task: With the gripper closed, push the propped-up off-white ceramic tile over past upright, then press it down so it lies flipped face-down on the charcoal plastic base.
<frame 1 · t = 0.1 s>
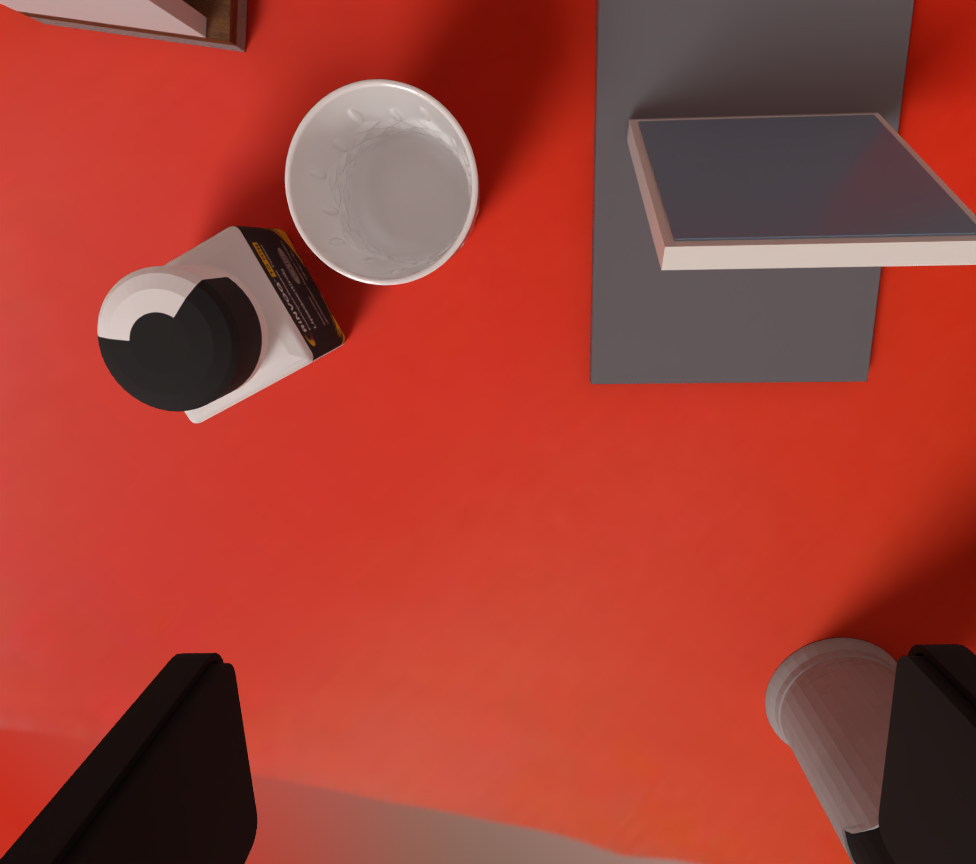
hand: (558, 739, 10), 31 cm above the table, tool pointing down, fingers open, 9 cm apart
glass holder: (854, 726, 45), on the table
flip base: (739, 132, 36), on the table
white cup: (417, 200, 38), on the table
tile: (781, 178, 30), point 7 cm above the table, hinge at 60.0°
medicine bottle: (266, 314, 40), on the table
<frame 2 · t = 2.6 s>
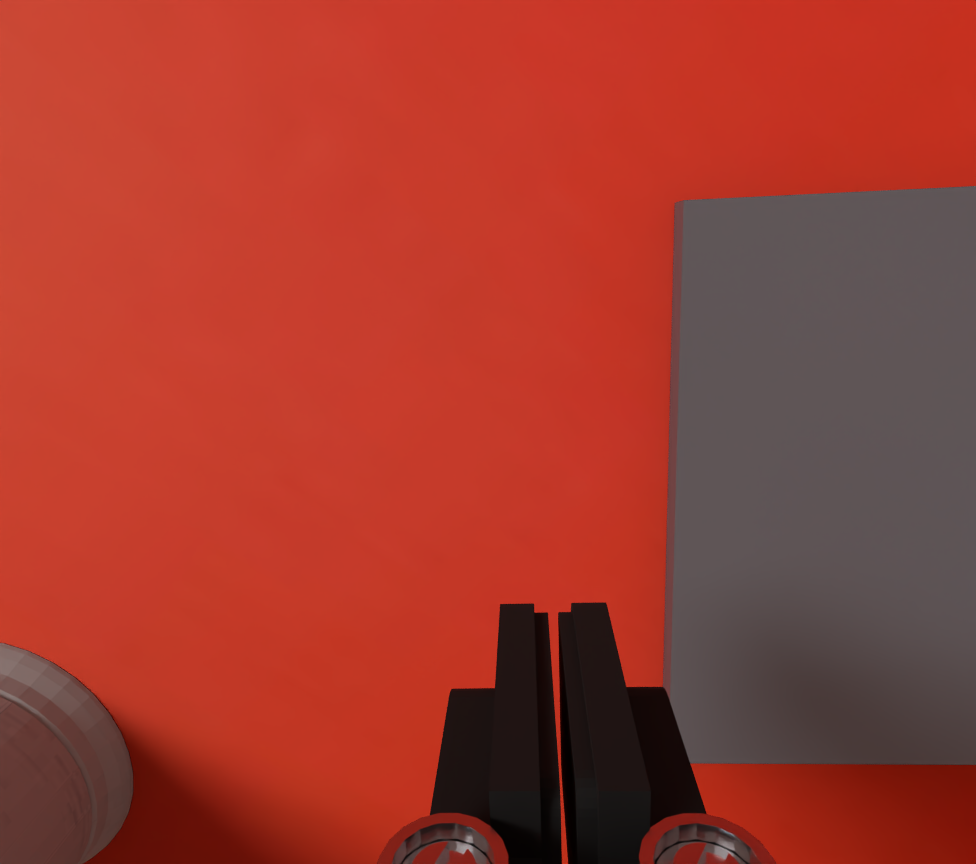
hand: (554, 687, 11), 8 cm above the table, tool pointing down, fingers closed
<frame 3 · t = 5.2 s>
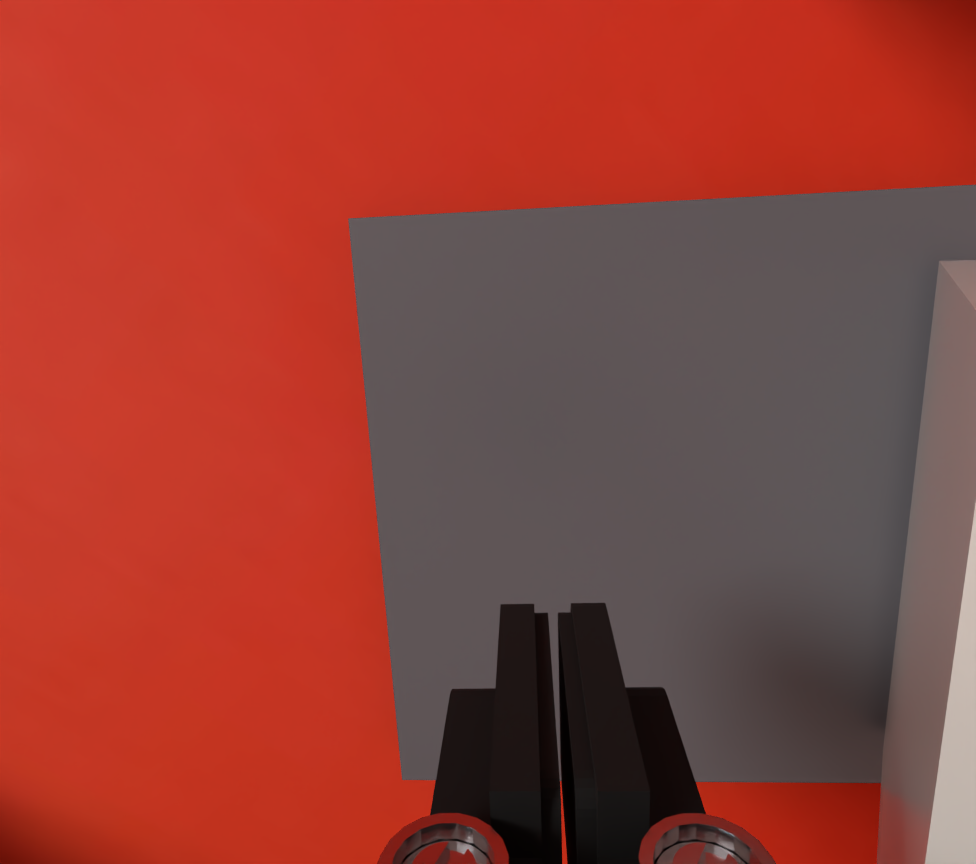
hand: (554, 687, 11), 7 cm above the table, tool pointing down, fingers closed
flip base: (896, 504, 18), on the table
tile: (947, 663, 11), point 7 cm above the table, hinge at 63.5°, touching gripper
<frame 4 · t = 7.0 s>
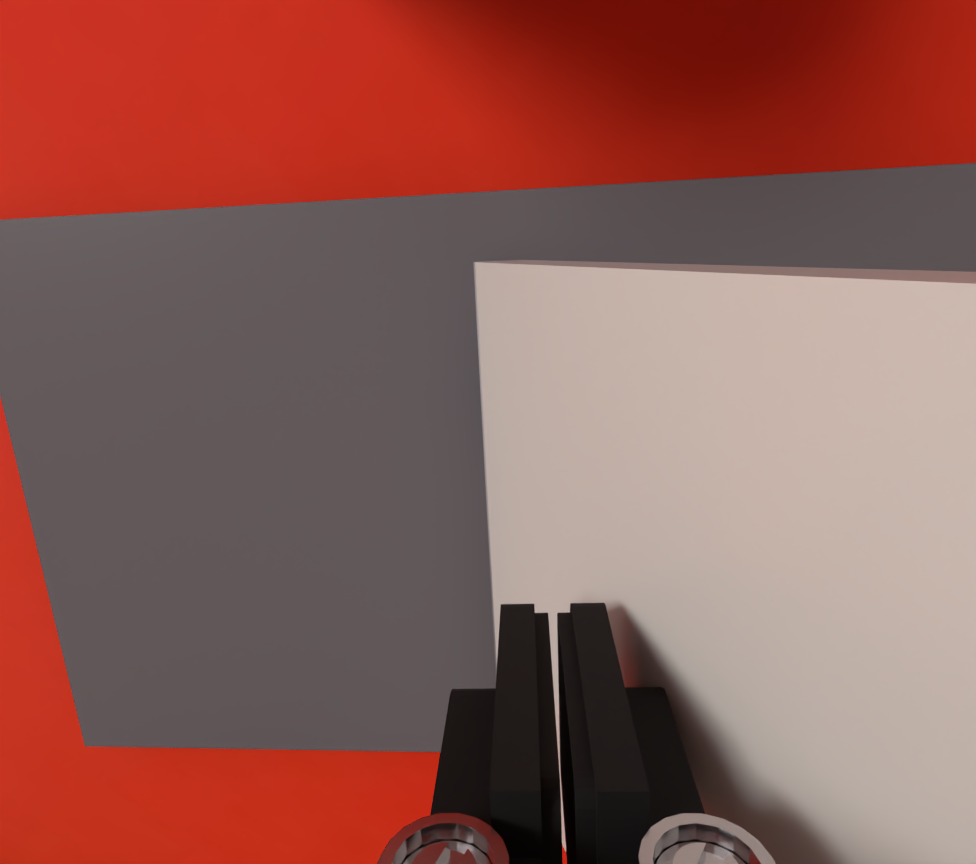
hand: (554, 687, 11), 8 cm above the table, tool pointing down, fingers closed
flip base: (511, 490, 19), on the table
tile: (631, 632, 12), point 7 cm above the table, hinge at 113.8°, touching gripper
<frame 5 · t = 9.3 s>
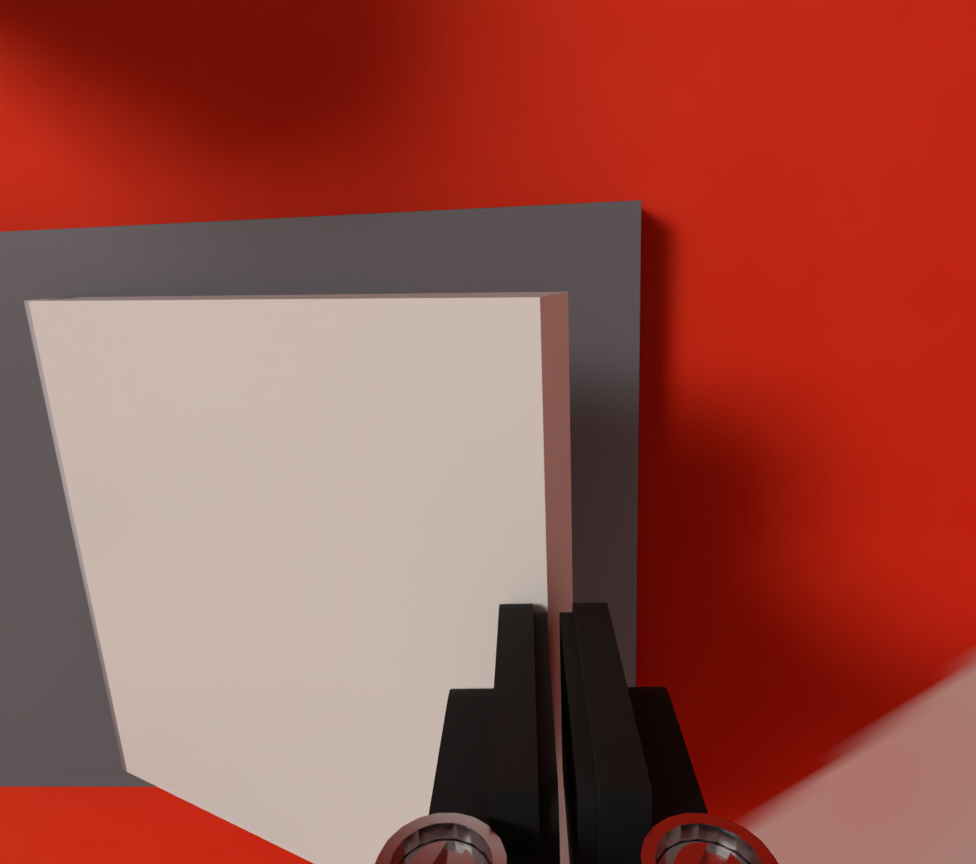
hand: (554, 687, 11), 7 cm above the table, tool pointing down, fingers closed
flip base: (138, 522, 19), on the table
tile: (278, 594, 14), point 4 cm above the table, hinge at 154.6°, touching gripper
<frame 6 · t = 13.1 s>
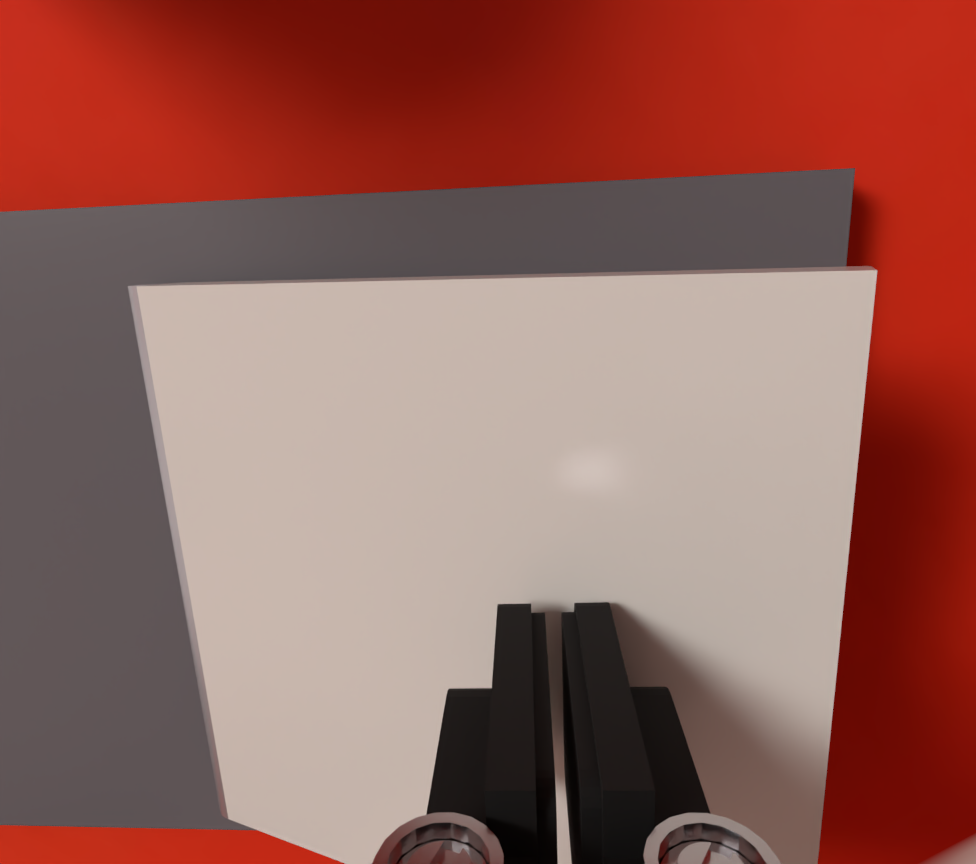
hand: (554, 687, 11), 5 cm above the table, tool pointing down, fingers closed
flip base: (237, 538, 17), on the table
tile: (445, 617, 13), point 4 cm above the table, hinge at 160.1°, touching gripper
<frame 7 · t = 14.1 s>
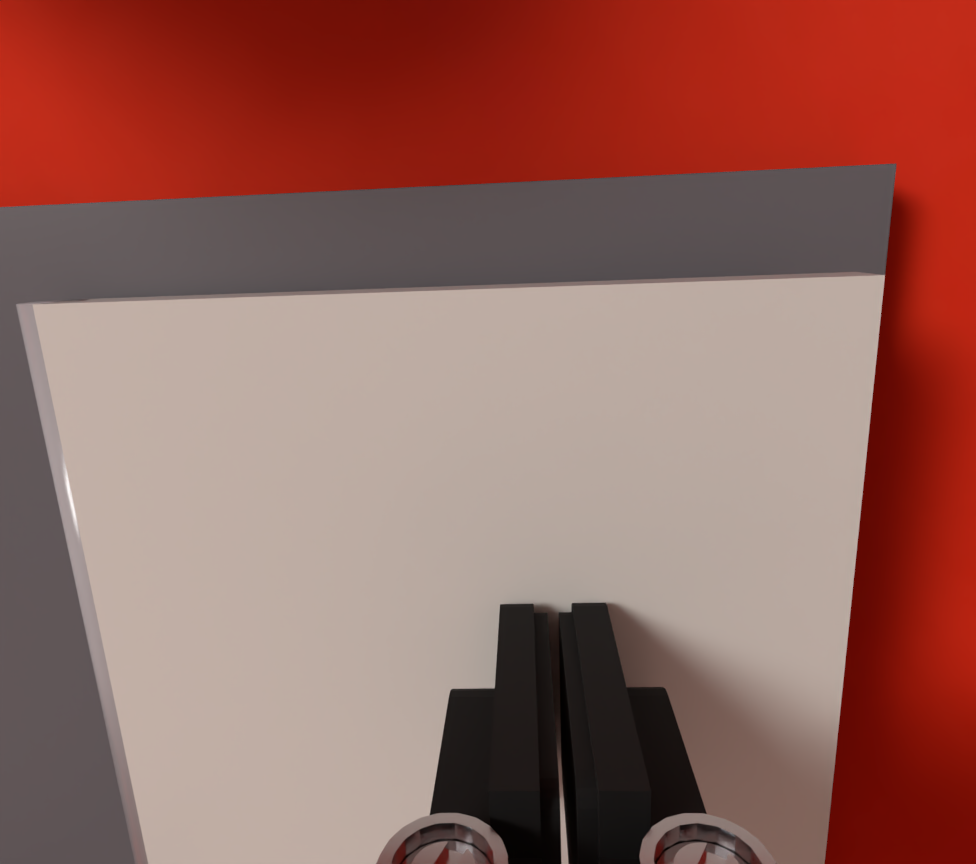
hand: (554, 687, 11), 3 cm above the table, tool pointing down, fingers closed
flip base: (168, 594, 14), on the table
tile: (436, 651, 12), point 2 cm above the table, hinge at 175.6°, touching gripper
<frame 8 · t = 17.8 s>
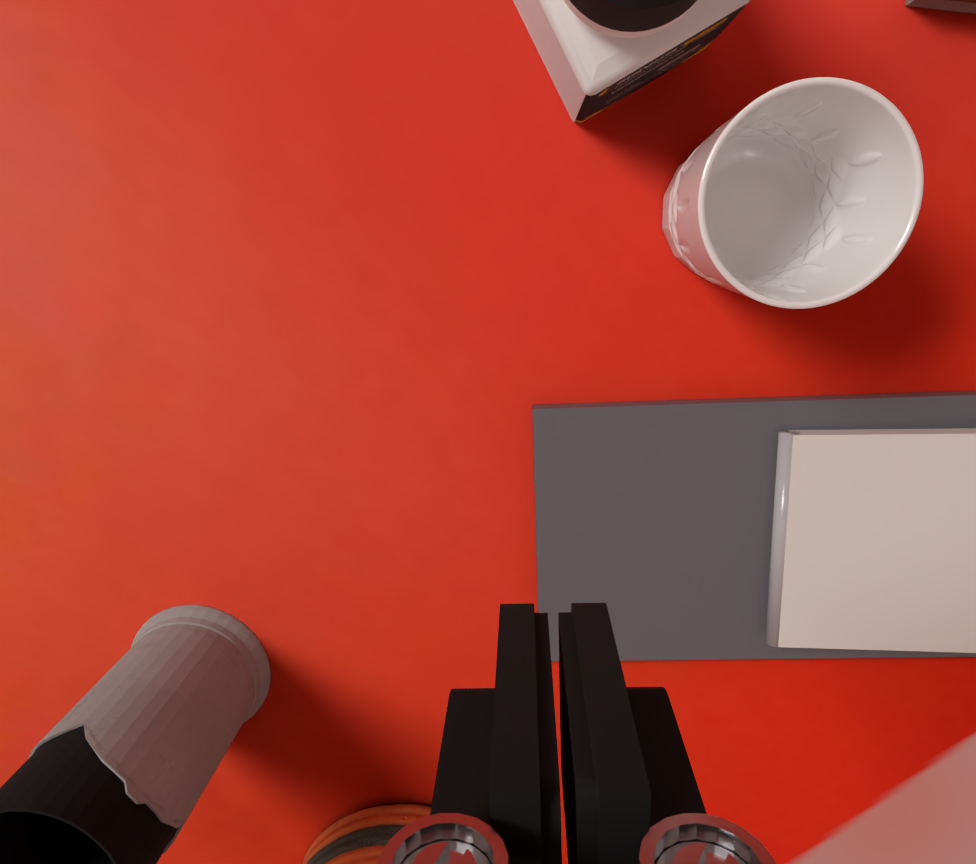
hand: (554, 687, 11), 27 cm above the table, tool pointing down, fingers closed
glass holder: (170, 689, 44), on the table
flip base: (770, 529, 39), on the table
white cup: (728, 211, 35), on the table
tile: (897, 542, 36), point 2 cm above the table, hinge at 175.6°
medicine bottle: (606, 17, 33), on the table
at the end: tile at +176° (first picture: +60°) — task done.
